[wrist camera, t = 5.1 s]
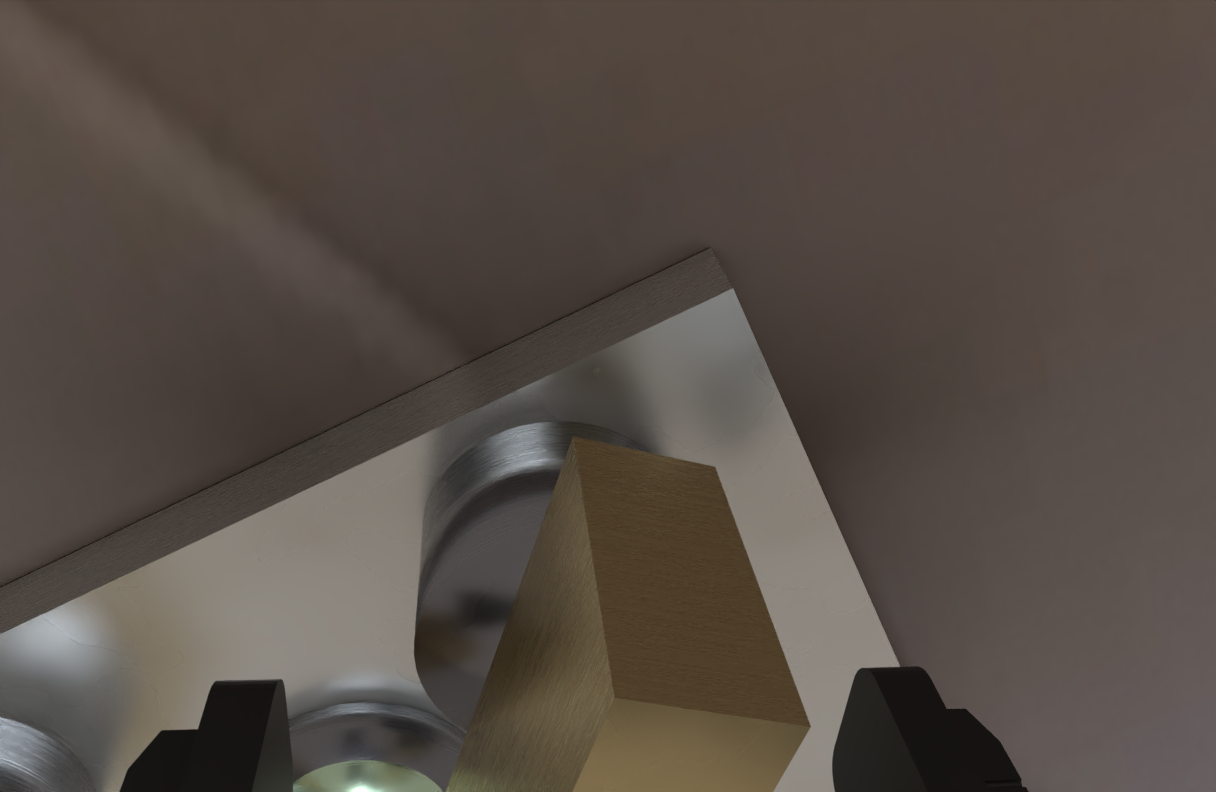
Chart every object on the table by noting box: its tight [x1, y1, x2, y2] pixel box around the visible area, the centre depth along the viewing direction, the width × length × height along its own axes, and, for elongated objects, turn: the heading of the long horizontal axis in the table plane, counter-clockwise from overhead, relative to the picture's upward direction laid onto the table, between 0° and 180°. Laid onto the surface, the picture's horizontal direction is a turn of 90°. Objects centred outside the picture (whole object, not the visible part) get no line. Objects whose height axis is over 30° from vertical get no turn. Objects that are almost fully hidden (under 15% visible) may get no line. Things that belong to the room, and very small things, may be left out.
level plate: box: [0, 248, 900, 792], centre depth 18 cm, size 20×12×2 cm, turn 115°
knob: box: [414, 421, 811, 792], centre depth 13 cm, size 6×4×7 cm, turn 162°
